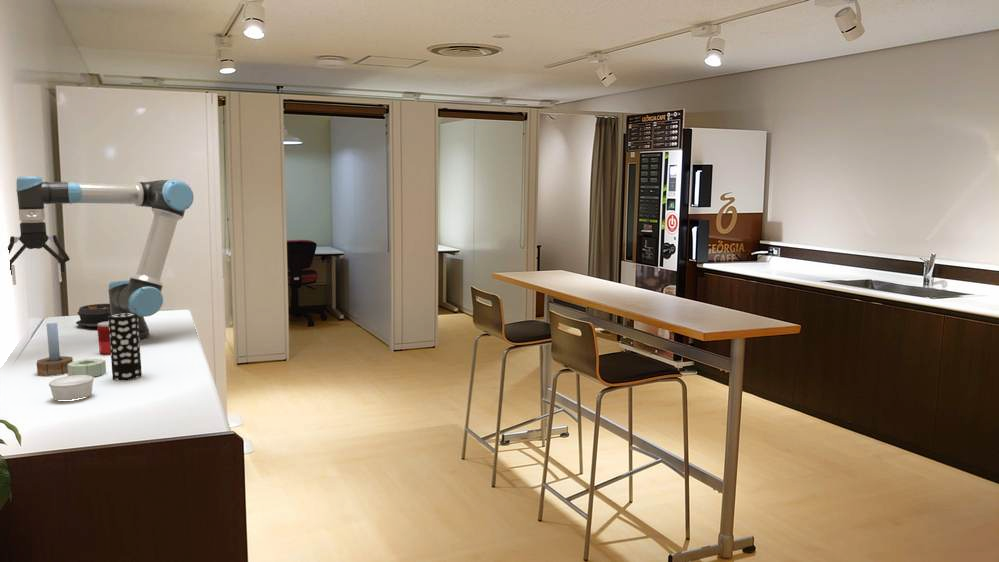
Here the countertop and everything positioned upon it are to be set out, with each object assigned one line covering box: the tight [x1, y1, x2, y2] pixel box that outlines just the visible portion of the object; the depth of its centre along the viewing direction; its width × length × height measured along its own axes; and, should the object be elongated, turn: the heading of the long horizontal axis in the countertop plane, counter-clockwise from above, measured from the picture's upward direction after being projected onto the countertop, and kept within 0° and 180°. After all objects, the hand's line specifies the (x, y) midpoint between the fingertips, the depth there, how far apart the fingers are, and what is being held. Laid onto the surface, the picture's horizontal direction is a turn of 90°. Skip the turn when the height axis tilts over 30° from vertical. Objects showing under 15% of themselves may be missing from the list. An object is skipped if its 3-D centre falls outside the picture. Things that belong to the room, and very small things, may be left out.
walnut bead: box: [36, 355, 74, 376], centre depth 244 cm, size 10×10×4 cm
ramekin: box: [48, 375, 95, 401], centre depth 215 cm, size 11×11×5 cm
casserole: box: [75, 303, 111, 328], centre depth 323 cm, size 25×19×8 cm
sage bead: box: [67, 358, 107, 378], centre depth 240 cm, size 10×10×4 cm
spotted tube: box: [108, 313, 143, 381], centre depth 236 cm, size 8×8×20 cm
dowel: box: [46, 322, 61, 362], centre depth 243 cm, size 3×3×16 cm
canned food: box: [97, 321, 111, 356], centre depth 271 cm, size 8×8×11 cm
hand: (37, 283), depth 259 cm, fingers open, 13 cm apart
